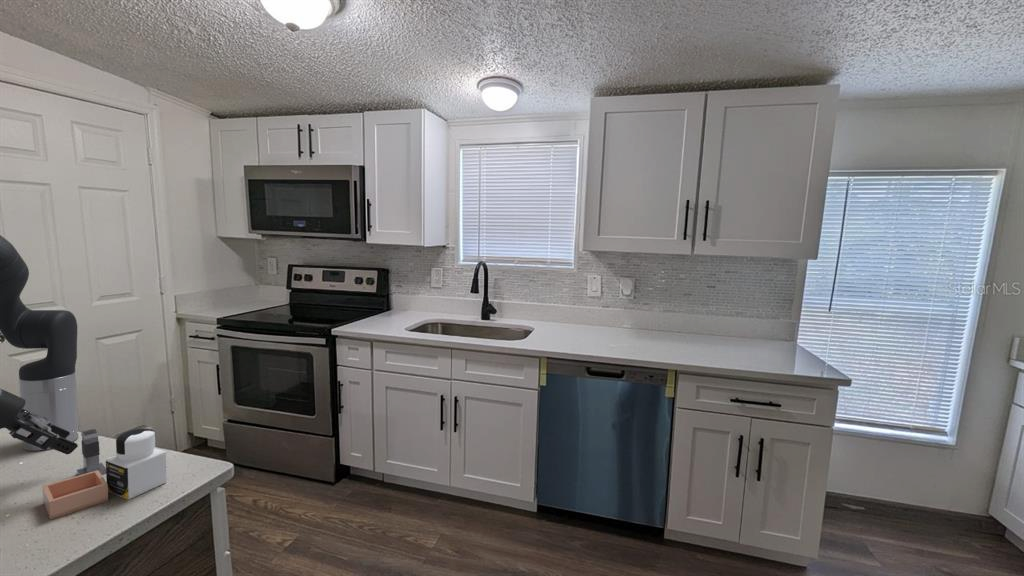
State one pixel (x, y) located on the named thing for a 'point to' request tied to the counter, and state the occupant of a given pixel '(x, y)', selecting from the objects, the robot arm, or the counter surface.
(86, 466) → the metal pedestal tower
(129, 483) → the medicine bottle
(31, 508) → the counter surface
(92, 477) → the tray
